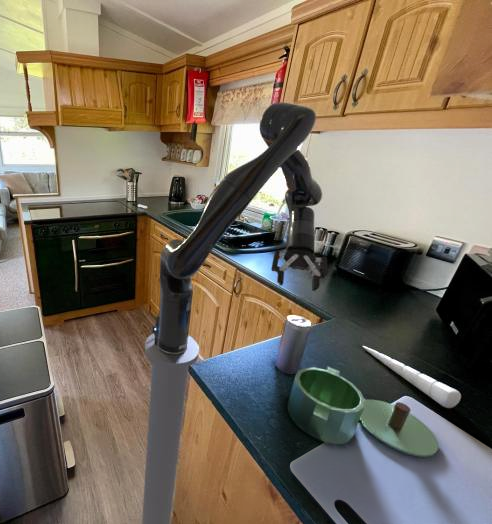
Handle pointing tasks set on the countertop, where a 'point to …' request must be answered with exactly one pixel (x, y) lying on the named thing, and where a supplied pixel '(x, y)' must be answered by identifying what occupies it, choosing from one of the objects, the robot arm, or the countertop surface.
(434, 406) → the countertop surface
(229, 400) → the countertop surface
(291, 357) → the beverage can
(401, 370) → the unicorn horn
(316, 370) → the pot
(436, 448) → the pot lid
